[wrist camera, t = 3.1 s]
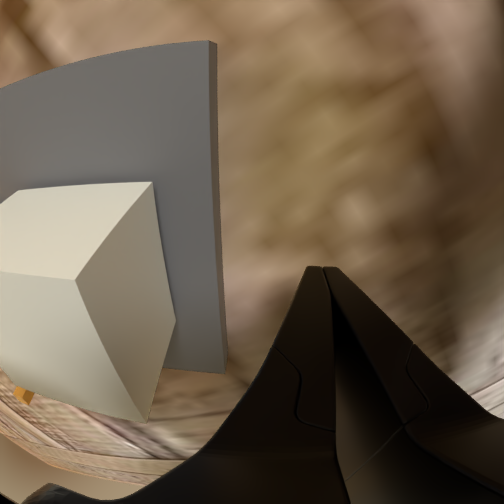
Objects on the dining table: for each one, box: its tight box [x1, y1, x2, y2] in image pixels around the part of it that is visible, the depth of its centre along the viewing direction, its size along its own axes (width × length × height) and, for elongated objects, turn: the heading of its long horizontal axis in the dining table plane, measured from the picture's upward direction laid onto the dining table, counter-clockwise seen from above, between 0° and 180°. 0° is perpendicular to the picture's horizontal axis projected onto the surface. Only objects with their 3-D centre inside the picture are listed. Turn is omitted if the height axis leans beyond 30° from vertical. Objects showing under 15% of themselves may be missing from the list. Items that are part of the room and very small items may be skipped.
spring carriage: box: [0, 182, 176, 424], centre depth 7 cm, size 5×5×4 cm
